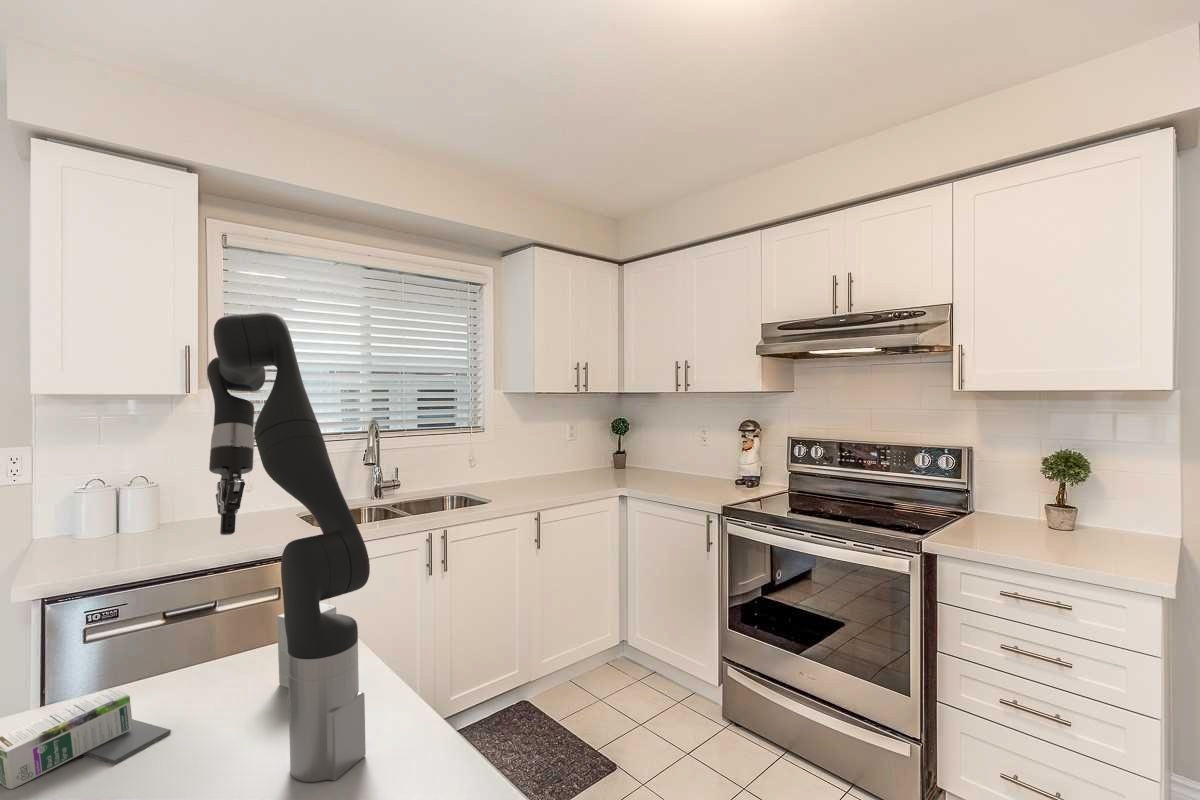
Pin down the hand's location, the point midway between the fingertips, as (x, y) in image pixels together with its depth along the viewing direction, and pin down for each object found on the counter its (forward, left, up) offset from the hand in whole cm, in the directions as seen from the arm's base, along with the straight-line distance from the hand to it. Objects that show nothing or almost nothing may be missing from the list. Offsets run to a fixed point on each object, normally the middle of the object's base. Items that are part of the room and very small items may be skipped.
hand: (227, 534), depth 114 cm
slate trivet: (-6, +24, -26) cm, 36 cm away
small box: (-19, -1, -26) cm, 33 cm away
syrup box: (-4, +21, -22) cm, 31 cm away
